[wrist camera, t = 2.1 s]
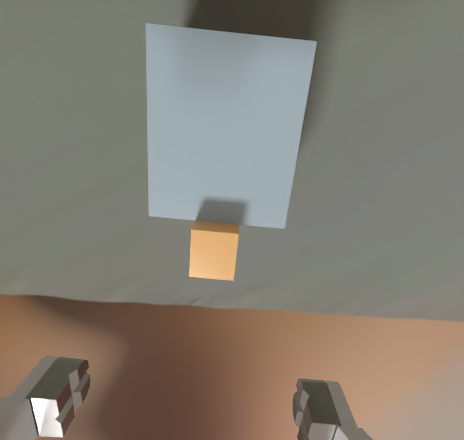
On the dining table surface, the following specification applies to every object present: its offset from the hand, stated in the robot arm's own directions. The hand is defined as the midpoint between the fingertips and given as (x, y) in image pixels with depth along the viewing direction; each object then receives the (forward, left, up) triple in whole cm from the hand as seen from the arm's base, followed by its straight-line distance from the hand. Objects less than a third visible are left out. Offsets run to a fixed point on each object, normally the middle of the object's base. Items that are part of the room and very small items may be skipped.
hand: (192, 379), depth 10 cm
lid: (-7, 0, -14) cm, 16 cm away
